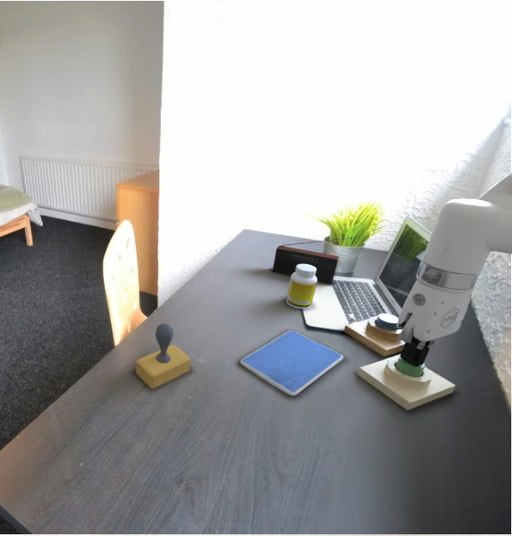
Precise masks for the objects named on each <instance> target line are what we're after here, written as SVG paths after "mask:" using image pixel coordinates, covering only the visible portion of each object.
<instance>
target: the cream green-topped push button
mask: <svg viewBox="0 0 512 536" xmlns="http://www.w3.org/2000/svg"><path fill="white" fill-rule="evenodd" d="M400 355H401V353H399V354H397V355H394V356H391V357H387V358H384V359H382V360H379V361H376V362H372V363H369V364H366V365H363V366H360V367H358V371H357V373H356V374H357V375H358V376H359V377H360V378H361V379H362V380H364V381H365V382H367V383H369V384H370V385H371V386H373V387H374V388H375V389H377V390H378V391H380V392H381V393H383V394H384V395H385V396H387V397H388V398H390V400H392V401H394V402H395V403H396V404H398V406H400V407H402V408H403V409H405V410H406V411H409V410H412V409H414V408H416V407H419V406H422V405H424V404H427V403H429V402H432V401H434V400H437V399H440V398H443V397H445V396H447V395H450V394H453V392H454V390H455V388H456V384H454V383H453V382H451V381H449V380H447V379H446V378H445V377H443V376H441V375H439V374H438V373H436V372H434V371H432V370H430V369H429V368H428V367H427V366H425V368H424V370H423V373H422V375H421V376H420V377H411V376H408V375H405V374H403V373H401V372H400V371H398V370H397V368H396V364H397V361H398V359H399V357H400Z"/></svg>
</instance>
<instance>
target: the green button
mask: <svg viewBox="0 0 512 536" xmlns="http://www.w3.org/2000/svg"><path fill="white" fill-rule="evenodd" d="M425 367H426V364H425V363H424V364H423V365H419V366H417V367H415V366H413V365H412V364H410V363H408V362H407V361H405V360H404V359H402V358H401V357H399V359H398V361H397V364H396V368H397V370H398V371H400V372H401V373H403V374H405V375H408V376H411V377H420V376H421V375H422V373H423V370H424V368H425Z"/></svg>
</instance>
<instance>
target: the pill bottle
mask: <svg viewBox="0 0 512 536" xmlns="http://www.w3.org/2000/svg"><path fill="white" fill-rule="evenodd" d="M315 274H316V268H315V267H314V266H312V265H308V264H298V265H297V266H296V272H294V273H293V274H292V275H291V276H290V278H289V285H288V289H287V293H286V294H287V295H286V301H285V302H286V304H287V305H288V306H290V307H292V308H295V309H299V310H307V309H310V308H311V307H312V304H313V301H314V296H315V293H316V288H317V283H318V282H317V278H316V276H315Z"/></svg>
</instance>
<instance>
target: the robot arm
mask: <svg viewBox="0 0 512 536" xmlns="http://www.w3.org/2000/svg"><path fill="white" fill-rule="evenodd" d="M492 252H498V253H503V254H507V255H512V171H511V172H510V173H508V174H507V175H505V176H504V177H503V178H501V179H500V180H499V181H497V182H496V183H495V184H494V185H492V186H491V187H489V188H488V189H487V190H486V191H485V192H483V193H482V194H481V195H480V196H479V197H478V198H477V199H473V198H472V199H470V198H457V199H451V200H449V201H447V202H445V203H444V204H443V205H442V207H441V209H440V211H439V213H438V216H437V218H436V220H435V224H434V227H433V229H432V232H431V234H430V237H429V240H428V242H427V246H426V248H425V251H424V253H423V256H422V259H421V261H420V264H419V266H418V270H417V272H416V274H415V278H416V280H415V282H414V284H413V286H412V288H411V290H410V291H409V293H408V295H407V297H406V299H405V302H404V304H403V305H402V308H401V311H400V313H399V316H398V322H397V328H398V329H400V330H401V329H403V330H402V331H401V333H400V335H399V337H398V339H400V340H401V341H403V342H405V344H404V347H403V350H402V351H400V352H401V353H400V354H401V355H400V354H399V355H400V357H401V358H402V359H404V360H405V361H407V362H408V363H410V364H412V365H413V366H415V367H417V366H419V365H423V364H425V362H426V359H427V356H428V355H429V352H430V350H431V347H433V345H434V344H435V342H436V340H437V339H440V338H443V337H446V336H450V335H452V334H455V333H456V332H457V331H459V330H460V328H461V326H462V324H463V323H462V322H463V321H464V318H465V316H466V313H467V311H468V307H469V305H470V302H471V299H472V295H473V290H474V288H475V286H476V285H477V282H478V279H479V277H480V275H481V273H482V271H483V268H484V267H485V264H486V262H487V260H488V257H489V255H490V253H492Z"/></svg>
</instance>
